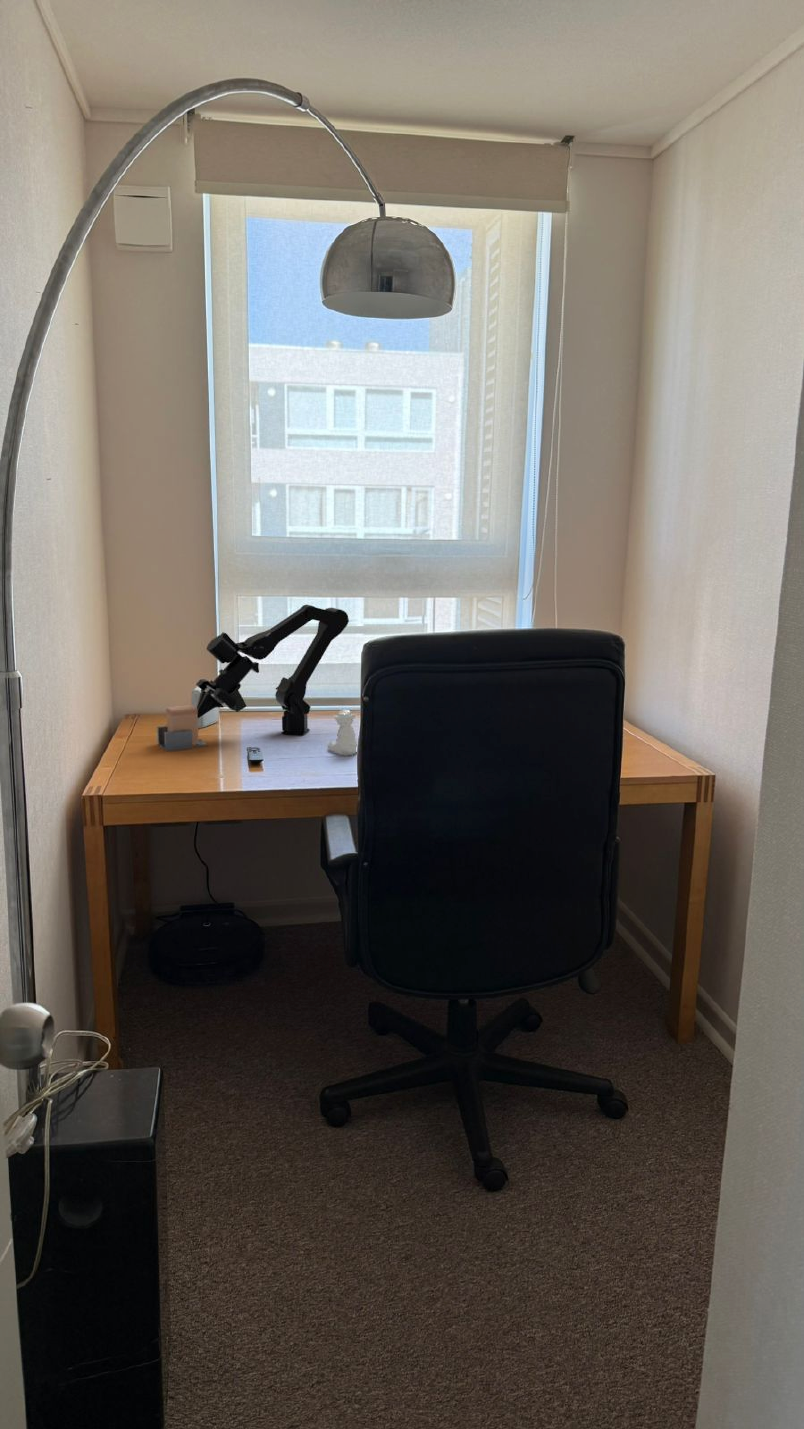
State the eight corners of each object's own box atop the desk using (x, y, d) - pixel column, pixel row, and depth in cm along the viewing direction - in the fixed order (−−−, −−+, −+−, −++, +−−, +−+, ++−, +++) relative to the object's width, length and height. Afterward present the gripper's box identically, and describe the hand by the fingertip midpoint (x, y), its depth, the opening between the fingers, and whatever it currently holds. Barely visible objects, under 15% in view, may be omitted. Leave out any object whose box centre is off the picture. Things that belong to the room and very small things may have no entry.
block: (193, 740, 265) (191, 704, 263) (198, 744, 260) (197, 708, 258) (167, 742, 261) (166, 707, 259) (173, 747, 257) (171, 710, 255)
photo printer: (203, 728, 280) (201, 687, 277) (190, 727, 282) (188, 686, 279) (221, 721, 290) (220, 681, 287) (208, 720, 291) (207, 680, 288)
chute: (198, 739, 267) (198, 722, 266) (208, 746, 260) (207, 728, 259) (157, 744, 262) (157, 726, 261) (166, 751, 255) (165, 733, 254)
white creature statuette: (362, 748, 261) (362, 705, 258) (365, 756, 252) (366, 712, 250) (327, 749, 259) (327, 706, 257) (330, 757, 251) (329, 712, 248)
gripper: (265, 698, 260) (227, 742, 257) (241, 686, 276) (206, 728, 273) (237, 672, 255) (198, 717, 252) (214, 662, 271) (177, 703, 268)
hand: (195, 717), depth 261 cm, fingers closed, pressing on block
